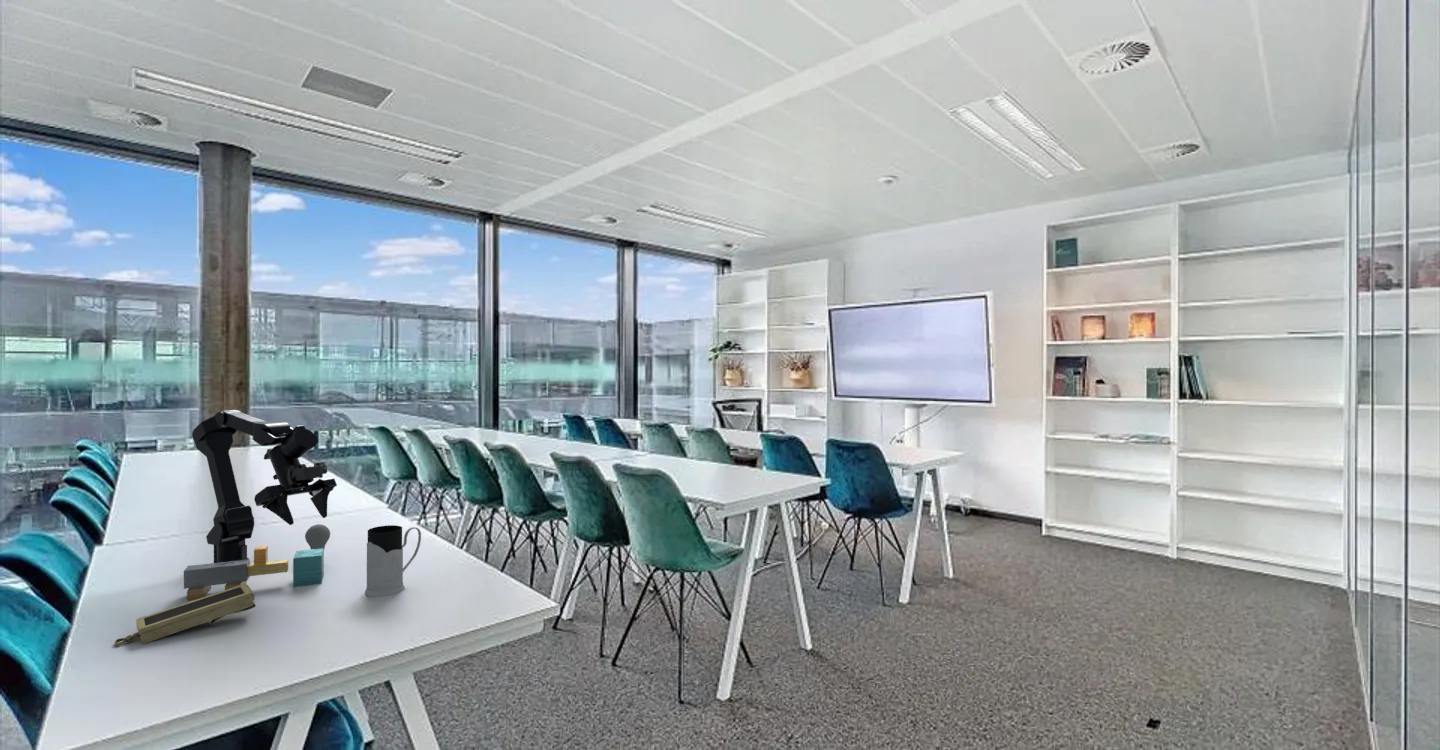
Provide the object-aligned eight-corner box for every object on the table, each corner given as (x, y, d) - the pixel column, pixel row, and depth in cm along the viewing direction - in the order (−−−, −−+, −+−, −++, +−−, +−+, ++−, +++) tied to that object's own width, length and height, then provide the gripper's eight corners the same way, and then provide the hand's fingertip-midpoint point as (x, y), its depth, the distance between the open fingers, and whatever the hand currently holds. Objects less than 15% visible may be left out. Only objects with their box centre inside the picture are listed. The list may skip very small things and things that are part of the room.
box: (259, 612, 140) (254, 590, 139) (119, 663, 124) (113, 638, 123) (251, 603, 146) (247, 582, 145) (116, 650, 130) (111, 626, 129)
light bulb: (310, 564, 177) (310, 528, 177) (301, 560, 181) (301, 524, 181) (333, 559, 182) (334, 524, 182) (324, 555, 186) (324, 521, 186)
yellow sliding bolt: (189, 583, 152) (189, 556, 152) (193, 579, 154) (193, 552, 154) (286, 572, 161) (286, 546, 161) (288, 568, 163) (288, 543, 163)
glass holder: (356, 592, 156) (356, 530, 156) (408, 576, 169) (409, 518, 169) (379, 599, 152) (379, 535, 152) (431, 581, 165) (431, 522, 165)
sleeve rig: (181, 601, 149) (181, 571, 149) (190, 590, 156) (190, 561, 156) (321, 584, 162) (321, 555, 162) (323, 574, 169) (323, 547, 169)
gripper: (271, 455, 158) (294, 513, 155) (339, 448, 175) (361, 500, 172) (243, 476, 161) (265, 533, 158) (312, 468, 178) (333, 519, 175)
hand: (309, 520), depth 166 cm, fingers open, 9 cm apart
